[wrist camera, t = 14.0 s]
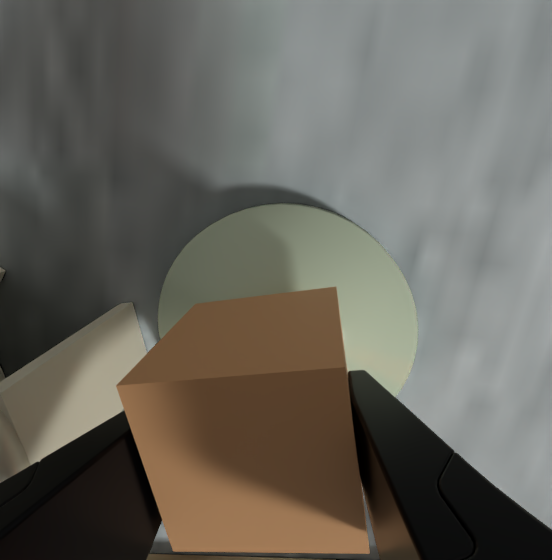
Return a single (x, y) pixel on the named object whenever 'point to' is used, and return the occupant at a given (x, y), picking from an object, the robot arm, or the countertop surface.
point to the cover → (67, 389)
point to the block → (251, 427)
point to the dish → (303, 279)
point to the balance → (214, 557)
